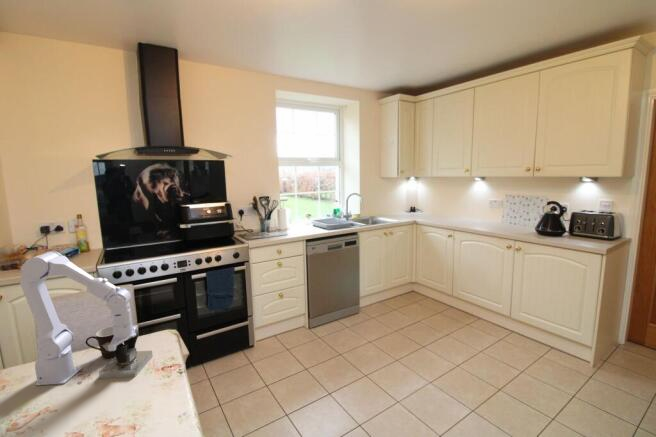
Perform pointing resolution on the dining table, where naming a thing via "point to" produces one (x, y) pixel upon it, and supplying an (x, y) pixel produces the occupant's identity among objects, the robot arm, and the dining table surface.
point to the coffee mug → (104, 342)
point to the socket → (125, 366)
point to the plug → (130, 355)
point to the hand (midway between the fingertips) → (126, 358)
